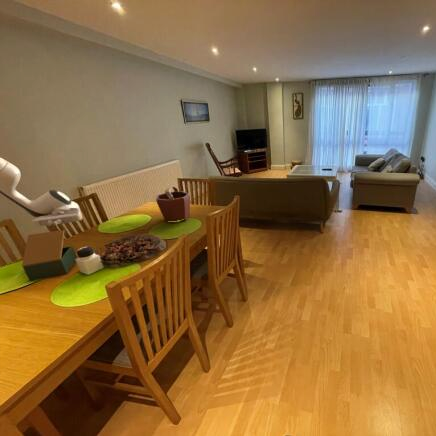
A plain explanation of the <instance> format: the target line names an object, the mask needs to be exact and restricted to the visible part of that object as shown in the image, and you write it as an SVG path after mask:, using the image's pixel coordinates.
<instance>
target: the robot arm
mask: <svg viewBox="0 0 436 436" xmlns="http://www.w3.org/2000/svg"><path fill="white" fill-rule="evenodd" d="M21 176H22V173H21V171H20V169H19V168H18V167H17V166H16V165H14V164H13V163H11V162H9V161H7V160H6V159H4V158H2V157H0V194H1V195H2V196H4V197H6V198H7V199H8V200H10V201H11V202H12V203H14V204H16V205H17V206H19V207H20V208H22V209H23V210H24V211H26V212H27V213H28V214H29V215H31V216H32V217H34V218H33V219H31V220H30V223H31V225H32V227H34V228H37V227H38V228H39V227H45V226H46V227H47V226H49V227H51V226H52V227H53V226H57V225H59V224H62V225H64V224H68V223H73V222H79V221H82V220H83V213H82V211H81V209H80V206H79V204H78V203H77V202H76V201H72V199H71V198H70V197H69V196H68V195H67V194H66V193H64V192H63V191H60V190H57V189H50V190H48V191H47V192H44V193H43V194H42V195H40V196H39V197H37V198H35V199H34V200H30V199H29V198H27V197H26V196H24V195H23V194H21V193H20V192H19V191H17V190H16V188H17V186H18V184H19V182H20V180H21V178H22V177H21Z"/></svg>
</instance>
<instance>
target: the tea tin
mask: <svg viewBox="0 0 436 436" xmlns="http://www.w3.org/2000/svg"><path fill="white" fill-rule="evenodd" d="M78 258H79V257H78V255H77V252H76V251H75V249H74V246H73V245H69V246H63V248H62V256H61V260H56V261H51V262H45V263H39V264H34V265H28V266H22V269H23V270H24V273H25V275H26V277H27V278H28V281H29V282H32V281H33V282H34V281H38V280H44V279H47V278H54V277H58V276H63V275H67V274H69V272H70V270H71V269H72V267H73V266H74V265H75V263H76V259H78Z"/></svg>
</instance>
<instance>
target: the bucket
mask: <svg viewBox="0 0 436 436" xmlns="http://www.w3.org/2000/svg"><path fill="white" fill-rule="evenodd" d="M172 189H173V191H171V190H172ZM155 200H156V204H157V207H158V209H159V211H160V213H161V215H162V217H163V219H164V221H165V223H168V224H169V223H170V224H178V223H177V222H175V223H174V222H168V221H177V220H182V219H186V218H187V217H188V218H187V219H186V221H187V220H188V219H189V218H190V216H191V215H190V214H191V193H189V192H187V191H183V190H182V191H181V190H180V191H179V188H178V187H177V186H175V185H170V186H168V187H166V189H165V190H164V193H160V194H157V195H156V197H155Z"/></svg>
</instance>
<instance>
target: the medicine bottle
mask: <svg viewBox="0 0 436 436" xmlns="http://www.w3.org/2000/svg"><path fill="white" fill-rule="evenodd" d="M94 252H95V250H94V248H93V247H92V246H84V247H80V248H79V249H77V251H76V255H77V258H78V259H76V262H75V263H76V265H77V268H78V270H79V272H80V273H83V274H85V275H91V274H93V273H96V272H98V271H100V270H102V269H104V268H105V267H104V266H103V264H102V262H100V261H101V258H100V256H99V255H100V254H98V255H96V254H95V253H94Z"/></svg>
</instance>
